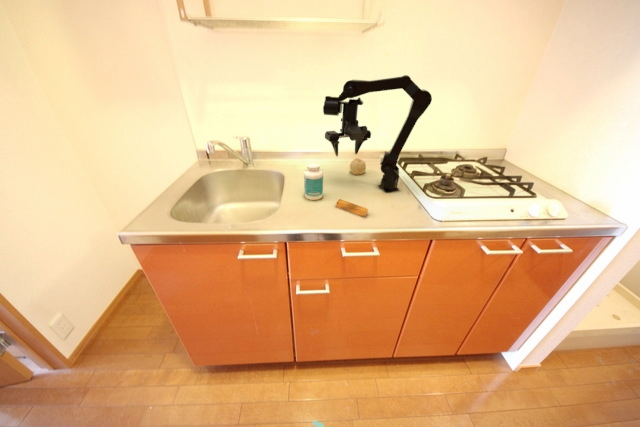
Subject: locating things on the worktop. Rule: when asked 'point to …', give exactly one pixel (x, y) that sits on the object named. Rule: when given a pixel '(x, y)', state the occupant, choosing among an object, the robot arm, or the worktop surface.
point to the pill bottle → (313, 182)
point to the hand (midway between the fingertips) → (346, 155)
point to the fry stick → (352, 207)
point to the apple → (357, 166)
